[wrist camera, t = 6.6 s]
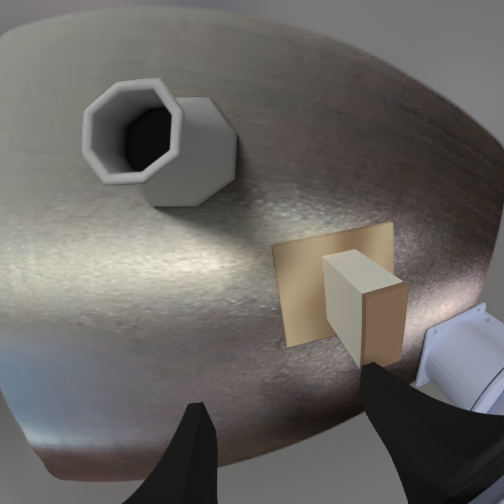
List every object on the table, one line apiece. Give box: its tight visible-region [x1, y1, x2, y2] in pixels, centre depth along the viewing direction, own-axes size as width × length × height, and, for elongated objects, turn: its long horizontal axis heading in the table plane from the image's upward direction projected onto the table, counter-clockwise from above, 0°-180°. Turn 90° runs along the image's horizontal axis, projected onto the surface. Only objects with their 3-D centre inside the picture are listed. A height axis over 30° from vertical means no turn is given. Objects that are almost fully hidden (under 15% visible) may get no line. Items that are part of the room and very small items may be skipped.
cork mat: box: [271, 222, 394, 347], centre depth 20 cm, size 9×8×1 cm
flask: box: [81, 78, 237, 207], centre depth 11 cm, size 7×7×10 cm
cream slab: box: [322, 249, 408, 371], centre depth 16 cm, size 2×5×6 cm, turn 10°
